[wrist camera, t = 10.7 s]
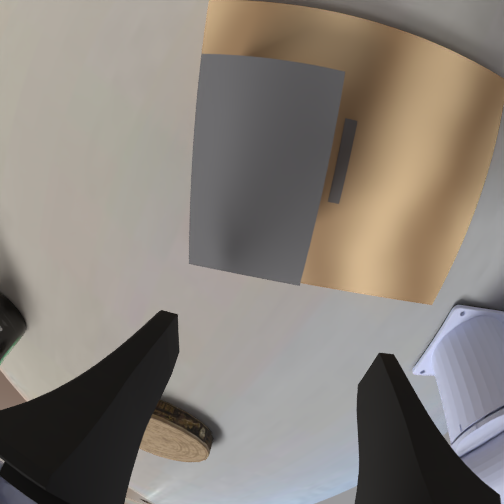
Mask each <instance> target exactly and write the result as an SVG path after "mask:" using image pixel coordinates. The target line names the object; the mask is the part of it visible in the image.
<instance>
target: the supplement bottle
mask: <svg viewBox="0 0 504 504" xmlns="http://www.w3.org/2000/svg"><path fill="white" fill-rule="evenodd" d="M25 331H26V325H25V322H24V320H23V318H22V316H21V314H20V312H19V311H18V310H17V308H16V307H15V306H14V305H13V303H12V302H11V301H10V300H9V299H7V298H6V297H5V296H3V295H1V294H0V365H1V363H2V362H3V361H4V359H5V358H6V357H7V355H8V354H9V353H10V352H11V350H12V349H13V348H14V346H15V345H16V344H17V343H18V341H19V340H20V339H21V337H22V336H23V335H24V333H25Z"/></svg>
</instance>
